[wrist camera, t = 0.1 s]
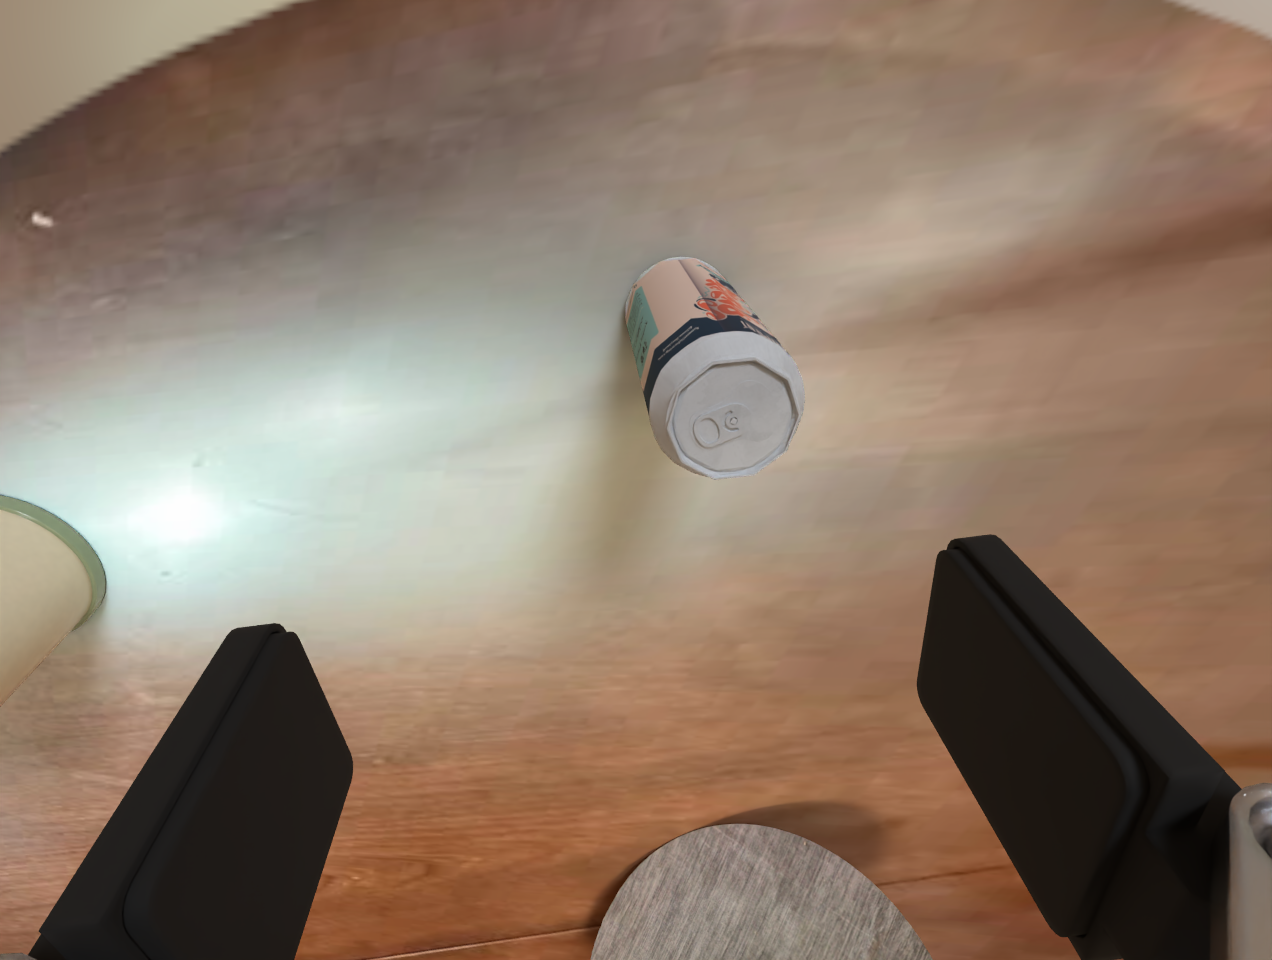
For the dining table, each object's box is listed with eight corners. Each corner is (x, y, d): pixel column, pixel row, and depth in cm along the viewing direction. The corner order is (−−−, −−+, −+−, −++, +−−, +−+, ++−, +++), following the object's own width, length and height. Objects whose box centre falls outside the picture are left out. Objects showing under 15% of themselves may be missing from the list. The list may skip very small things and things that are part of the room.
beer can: (744, 336, 31) (831, 458, 21) (648, 376, 32) (686, 514, 21) (710, 235, 29) (789, 314, 18) (607, 280, 29) (627, 382, 19)
